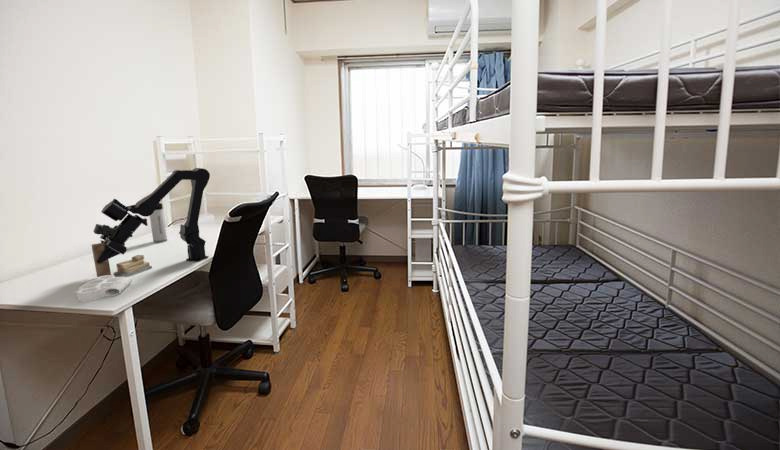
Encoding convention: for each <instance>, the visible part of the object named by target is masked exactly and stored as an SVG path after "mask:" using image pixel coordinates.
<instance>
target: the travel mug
mask: <svg viewBox="0 0 780 450" xmlns="http://www.w3.org/2000/svg"><path fill="white" fill-rule="evenodd" d="M149 220H150V228H151V233H152V234H151V236H152V240H153V241H152V242H153V243H156V244H157V243H165V242H167V241H168V235H167V228H166V221H165V220H166V219H165V213H164V207H163V203H161V202H159V204H158V206H157V208H156V209H155V211H154V212H153V214H152V215H150V216H149Z"/></svg>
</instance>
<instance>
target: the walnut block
mask: <svg viewBox="0 0 780 450" xmlns="http://www.w3.org/2000/svg"><path fill="white" fill-rule="evenodd" d="M104 244H105V243H101V242H100V243H92V244H91V250H92V256H93V262H94V266H95V267H94V268H95V273H96V278H97V277H100V276H105V275H112V272H111V267H110V259H108V260H106V261H104V262H102V263H100V264H99V263H97V260H98V259H99V257H100V256H101V254H102V253H103V251H104V249H105V248H104Z"/></svg>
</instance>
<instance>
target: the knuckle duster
mask: <svg viewBox="0 0 780 450" xmlns="http://www.w3.org/2000/svg"><path fill="white" fill-rule="evenodd" d="M131 283H133V279H132V278H131V277H130V276H128V277H124V276H116V275H114V274H111V275H105V276H100V277H97V276H96V277H95V278H93V279H92V280H88V281H85V282H84V284H83V285H80V286H79V287H78V290H77V291H75V292H74V294H76V295H77V299H78V300H77V301H78V302H83V303H84V302H85V303H87V302H92V301H95V300H98V299H100V298H103V297H113V296H115V297H116V296H117V295H119V294H121V292H122V291H123V290H125V289H126V288H127V287H128V286H129V285H130V284H131Z"/></svg>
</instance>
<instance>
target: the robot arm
mask: <svg viewBox="0 0 780 450" xmlns="http://www.w3.org/2000/svg"><path fill="white" fill-rule="evenodd" d="M210 177H211V173H210V171H208V169H206V168H202V167H195V168H193V169H192V170H191V169H188V170H186V169H185V170H184V169H182V170H181V169H176V170H173V171H172V173H171V174H170V175H168V177H167V178H166V179H165V180H164V181H163V182H162V183H160V185H158V187H156V188H155V190H153V191H152V192H151V193H149V194H148V195H146V196H145V197H142V198H141V199H140V200H138V201H136V203H135V204H132V205H124V204H123V203H121V202H120V201H119V200H118V199H116V198H113V199H112V200H111V201H110V202H108V203H106V205H105V206H103V208H102V209H101V210H100V211H101V212H100V213H102V214H103V215H105V216H106V217H108V218H110V219H111V220H113V221H114V222H117V221H120V223H119V224H118V225H117V224H116V225H114V226H113V227H111V226H110V225H107V224H99V223H96V224H95V226H94V229H93V233H94V234H96V235H100V236H99V238H100V243H105V244H104V248H105V249H104V251H103V253H102V254H101V256H100V257H99V259H98V260H97V263H99V264H100V263H102V262H104V261H106V260H110V259H112V258H114V257H116V256H118V255H125V254H126V252H127V251H128V249H127V246H126V244H125V243H127V242H128V240H129V239H130V238H132V237H134V235H133V234H134V233H135V232H136V231H137V230H138V228H139V227H140V226H141V225H144V226H148V218H145V217H150V215H152V214H153V212H154V211H155V209H156V208H157V206H158V204H159V203H161V201H162V200H163V199H164V198H165V197H166V196H167V195H168V194H169V193H170V192H171V191H172V190H173V189H174V188H175V187H176V186H177V185H179V183H180V182H181V181H184V180H185V181H186V180H187V181H190V183H191V184H190V185H191V194H190V200H189V204H188V211H187V216H186V221H185V223H184V224H180V229H179V232H178V234H179V235H180V236H179V237H180V239H181V240H182V241H183V242H185V243H186V244H187V256H188V257H187V258H186V261H191V262H192V261H194V262H199V261H202V260H205V259H207V258H209V255H206V249H205V248H206V247H205V246H206V240H205V239H203V238H202V237H200V227H199V217H200V213H201V207H202V200H203V195H204V190H205V188H206V187H207V185H208V183H209V180H210ZM129 212H130V213H129ZM132 214H133V215H132ZM134 214H135V215H134ZM139 215H140V216H139Z"/></svg>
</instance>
